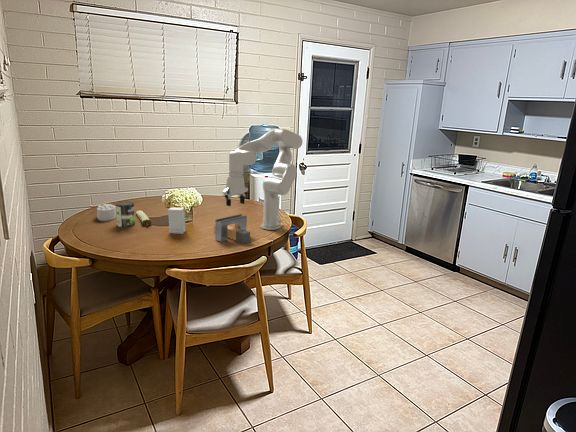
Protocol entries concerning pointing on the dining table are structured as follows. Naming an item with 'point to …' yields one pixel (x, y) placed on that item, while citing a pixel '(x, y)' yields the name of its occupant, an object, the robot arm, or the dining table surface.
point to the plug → (238, 234)
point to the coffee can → (125, 214)
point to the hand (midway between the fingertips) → (235, 204)
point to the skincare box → (176, 220)
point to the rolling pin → (143, 218)
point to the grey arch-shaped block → (223, 223)
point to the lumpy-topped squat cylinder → (106, 212)
